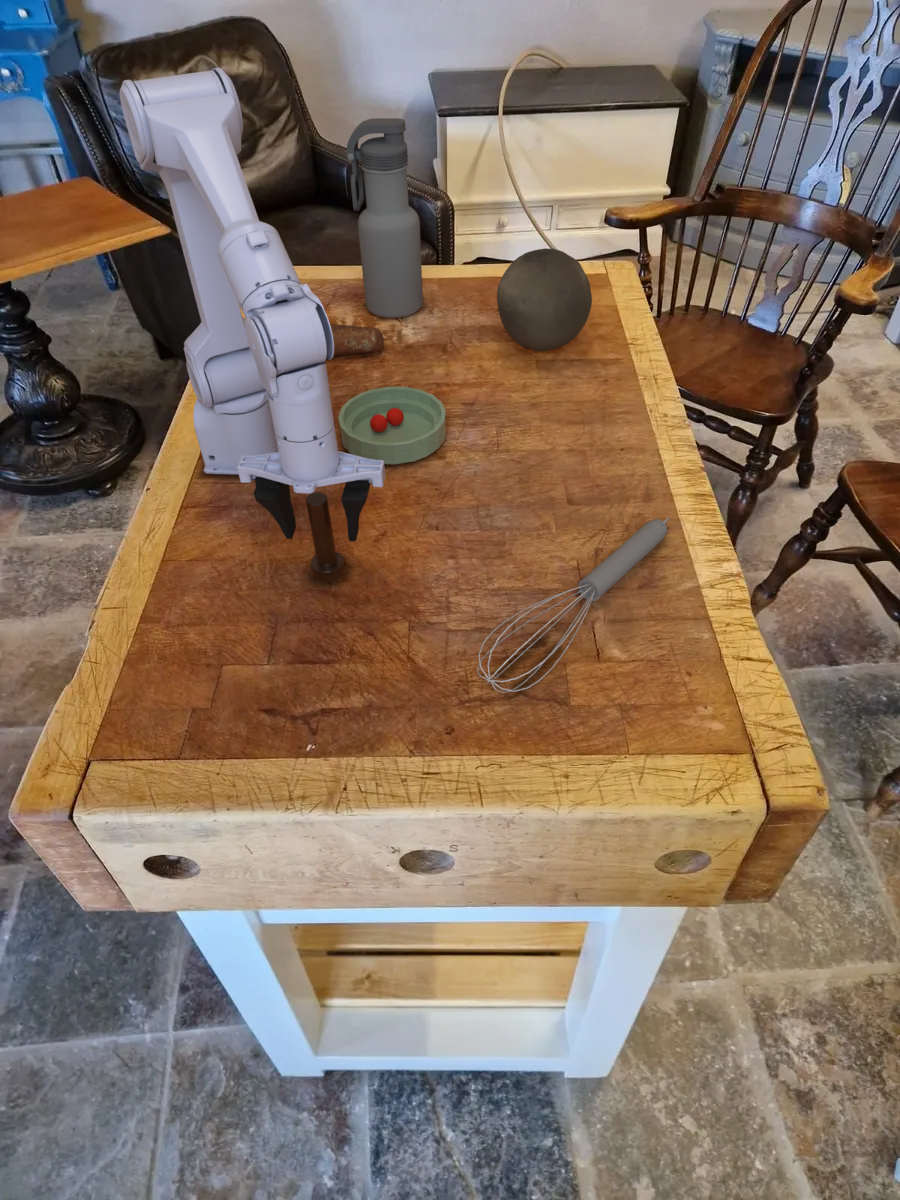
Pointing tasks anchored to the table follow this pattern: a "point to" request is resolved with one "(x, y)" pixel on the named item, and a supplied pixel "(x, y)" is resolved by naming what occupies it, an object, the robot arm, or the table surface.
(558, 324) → the dark grey ball
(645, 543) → the kitchen whisk
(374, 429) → the tomato
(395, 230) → the water bottle
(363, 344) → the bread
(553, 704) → the table surface
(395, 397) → the bowl
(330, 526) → the stirrer
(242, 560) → the table surface
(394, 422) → the tomato
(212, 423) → the robot arm
